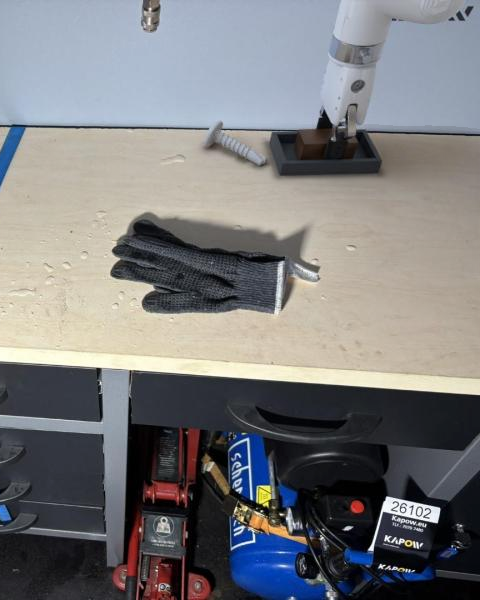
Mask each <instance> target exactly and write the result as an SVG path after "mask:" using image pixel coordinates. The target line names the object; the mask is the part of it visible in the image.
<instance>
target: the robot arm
mask: <svg viewBox="0 0 480 600" xmlns="http://www.w3.org/2000/svg"><path fill="white" fill-rule="evenodd" d="M466 1H467V0H340V3H339V8H338V11H337V15H336V18H335V19H336V20H335V24H334V28H333V33H332V36H331V41H330V45H329V49H328V52H327V57H328V58H329V59H328V62H327V65H326V69H325V72H324V76H323V79H322V82H321V87H320V89H321V90H320V93H319V98H320V102H321V107H320V109H319V114H318V115H319V117H318V119H317V123H316V127H315V129H332V135H331V138H330V139H328V142H327V146H326V150H325V153H324V160H333V159H343V158H344V155H345V151H346V148H347V145H348V141H350V139H351V138H352V137H354V136H355V135H356V130H357V126H362V125H363V124H364V123H365V120H366V117H367V114H368V109H369V106H370V102H371V98H372V94H373V89H374V85H375V79H376V72H377V63H379V62H380V59H381V56H382V53H383V50H384V46H385V44H386V41H387V37H388V34H389V30H390V28H391V24H392V21H393V19H394V20H400V21H404V22H409V23H414V24H419V25H435V24H440V23H441V24H442V23H443V22H446V21H448V20H450V19H451V18H453V17H454V16H456V15H457V14H458V13H459V12H460V10H462V8H463V7H464V5H465V3H466ZM343 119H345V120H343ZM341 127H344V128H345V130H344V131H343V132H339V133H338V128H341ZM337 133H338V134H337Z"/></svg>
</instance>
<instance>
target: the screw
mask: <svg viewBox="0 0 480 600" xmlns="http://www.w3.org/2000/svg"><path fill="white" fill-rule="evenodd" d="M223 126H224V122H223V121H222V120H218V121H216V122H214V123H213V124H212V125H211V126H210V127H209V129H208V130H207V132H206V134H205V137H204V146H205V147H207V148H209V147H211V146H212V145H213V144H214V143H216V144H217V143H218V144H219V146H223V148H227V150H228V151H230V150H231V152H232V153H235V154H236V155H237V156H238V155H239V156H240V158H244V159H245V160H248V161H250V162H252V163H254V164H255V165H257V166H262V165H264V164H266V156H265V155H263V154H261V153H260V152H258V151H256V150H254V149H253V148H251V146H247V144H244V143H243V142H242V141H241V142H240V141H238V139H235V138H234V137H231V136H230V134H228V135H227V134H226V132H222V129H223Z"/></svg>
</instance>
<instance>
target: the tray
mask: <svg viewBox="0 0 480 600" xmlns="http://www.w3.org/2000/svg"><path fill="white" fill-rule="evenodd" d="M297 134H298V130H294V131H271V134H270V139H269V147H270V151H271V153H272V156H273V159H274V162H275V165H276V168H277V172H278V174H279V176H310V175H311V176H313V175H349V174H350V175H352V174H354V175H355V174H379V171H380V168H381V165H382V163H383V158H382V157H381V156H380V154H379V151H378V149H377V148H376V146H375V144H374V142H373V140H372V139H371V137H370V135H369V133H368V131H367V129H365V128H364V129H361V128H360V129H357V128H356V135H355V137H356V139H357V141H358V145H357V148H356V151H355V154H354V156H353V159H333V160H298V159H297V156H296V154H295V151H294V146H295V142H296V138H297Z"/></svg>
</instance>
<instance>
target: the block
mask: <svg viewBox="0 0 480 600" xmlns="http://www.w3.org/2000/svg"><path fill="white" fill-rule="evenodd" d="M344 130H345V127H338V133H339V132H343V131H344ZM297 131H298V134H297V138H296V142H295V146H294V151H295V154H296V156H297V159H298V160H324V153H325V150H326V146H327V142H328V139H330V138H331V135H332V129H316V128H302V129H298V130H297ZM338 133H337V134H338ZM357 145H358V141H357V139H356V137H355V136H354V137H352V138H351V139H350V141H348V145H347V148H346V151H345V155H344V158H343V159H353V156H354V154H355V151H356V148H357Z"/></svg>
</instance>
